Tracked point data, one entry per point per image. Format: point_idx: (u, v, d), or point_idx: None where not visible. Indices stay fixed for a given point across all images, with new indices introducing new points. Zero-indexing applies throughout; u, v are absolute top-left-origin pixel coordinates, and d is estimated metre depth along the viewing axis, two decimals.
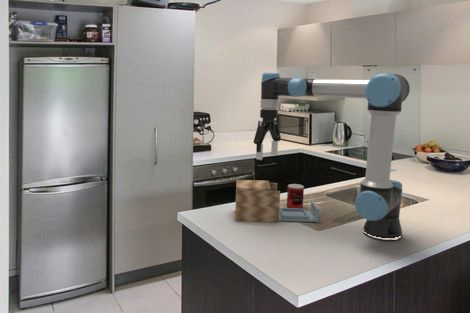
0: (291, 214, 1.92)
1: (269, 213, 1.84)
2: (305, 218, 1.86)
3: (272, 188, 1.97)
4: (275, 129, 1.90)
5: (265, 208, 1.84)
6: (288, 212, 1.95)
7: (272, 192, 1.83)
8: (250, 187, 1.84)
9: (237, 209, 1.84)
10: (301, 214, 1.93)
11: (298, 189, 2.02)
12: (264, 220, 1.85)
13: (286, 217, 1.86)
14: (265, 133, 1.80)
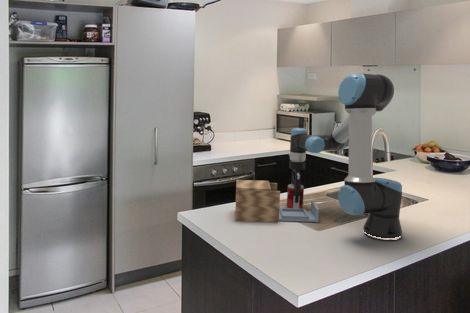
0: (291, 214, 1.92)
1: (269, 213, 1.84)
2: (305, 218, 1.86)
3: (272, 188, 1.97)
4: None
5: (265, 208, 1.84)
6: (288, 212, 1.95)
7: (272, 192, 1.83)
8: (250, 187, 1.84)
9: (237, 209, 1.84)
10: (301, 214, 1.93)
11: None
12: (264, 220, 1.85)
13: (286, 217, 1.86)
14: None
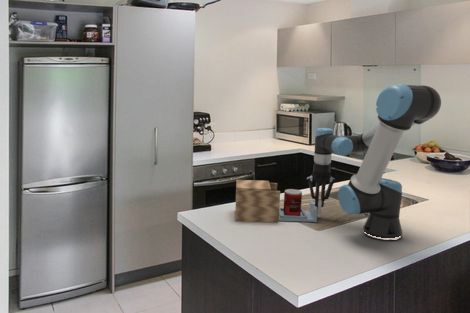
0: None
1: (269, 213, 1.84)
2: (303, 218, 1.86)
3: (272, 188, 1.97)
4: (328, 187, 1.90)
5: (265, 208, 1.84)
6: None
7: (272, 192, 1.83)
8: (250, 187, 1.84)
9: (237, 209, 1.84)
10: None
11: (296, 195, 1.86)
12: (264, 220, 1.85)
13: (284, 217, 1.86)
14: (318, 188, 1.89)
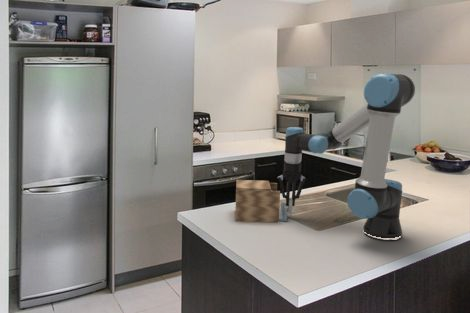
0: None
1: (269, 213, 1.84)
2: None
3: (272, 188, 1.97)
4: (299, 186, 1.90)
5: (265, 208, 1.84)
6: None
7: (272, 192, 1.83)
8: (250, 187, 1.84)
9: (237, 209, 1.84)
10: None
11: None
12: (264, 220, 1.85)
13: None
14: (288, 187, 1.89)
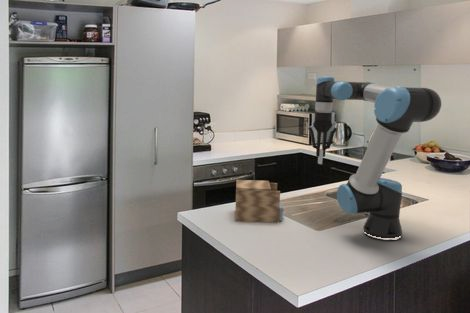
0: None
1: (269, 213, 1.84)
2: None
3: (272, 188, 1.97)
4: (329, 136, 1.90)
5: (265, 208, 1.84)
6: None
7: (272, 192, 1.83)
8: (250, 187, 1.84)
9: (237, 209, 1.84)
10: None
11: None
12: (264, 220, 1.85)
13: None
14: (319, 137, 1.89)
